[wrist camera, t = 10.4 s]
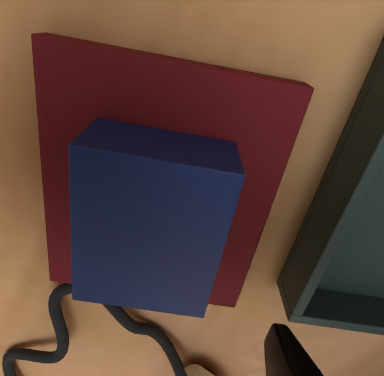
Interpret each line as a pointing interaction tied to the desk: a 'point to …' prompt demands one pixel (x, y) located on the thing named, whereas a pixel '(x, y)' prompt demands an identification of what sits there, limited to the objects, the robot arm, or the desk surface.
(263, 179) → the dark red flat slab
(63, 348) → the cable
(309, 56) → the desk surface
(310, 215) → the dark green tray
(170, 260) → the blue rectangular block
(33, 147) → the desk surface
